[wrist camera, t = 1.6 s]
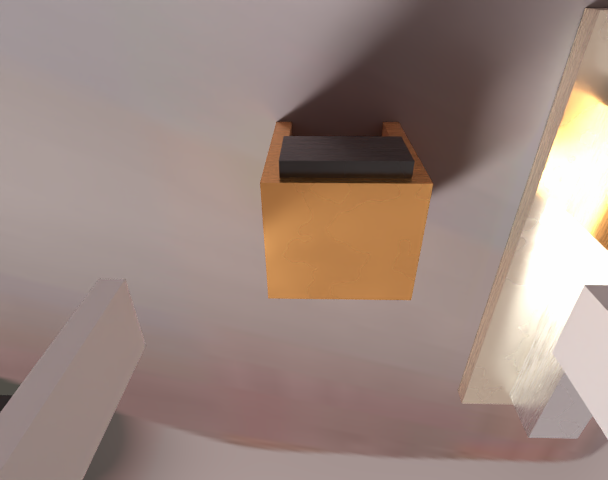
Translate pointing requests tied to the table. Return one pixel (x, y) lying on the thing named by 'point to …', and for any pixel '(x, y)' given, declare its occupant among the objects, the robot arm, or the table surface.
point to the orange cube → (343, 215)
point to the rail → (551, 252)
